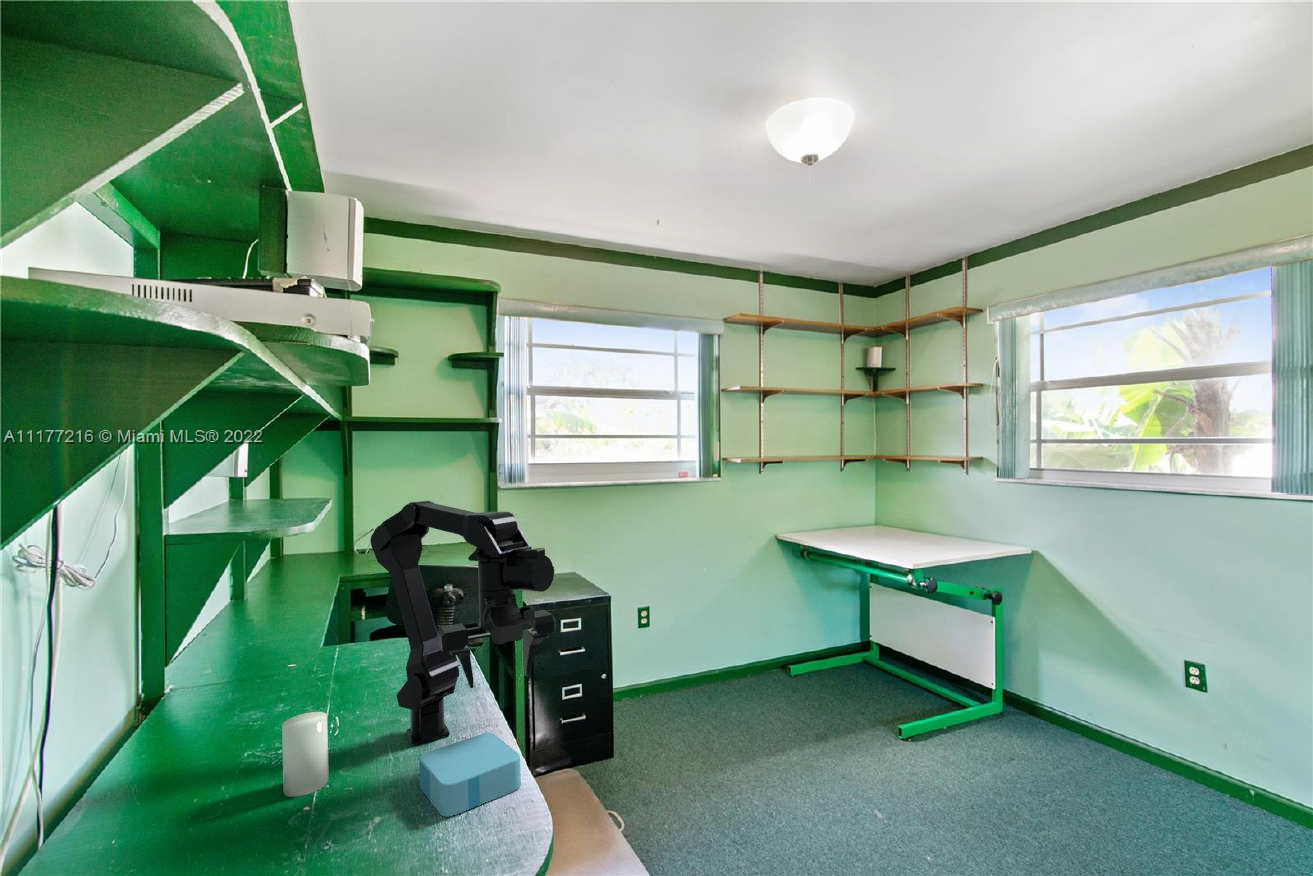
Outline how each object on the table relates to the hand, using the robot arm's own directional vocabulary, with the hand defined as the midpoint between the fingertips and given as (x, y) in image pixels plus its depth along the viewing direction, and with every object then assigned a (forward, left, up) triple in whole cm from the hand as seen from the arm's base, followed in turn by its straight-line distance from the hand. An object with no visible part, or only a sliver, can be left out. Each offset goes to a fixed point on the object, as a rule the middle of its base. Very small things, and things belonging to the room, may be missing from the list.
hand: (499, 681), depth 99 cm
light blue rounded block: (+8, -13, -10) cm, 18 cm away
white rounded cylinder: (-8, -28, -12) cm, 32 cm away
